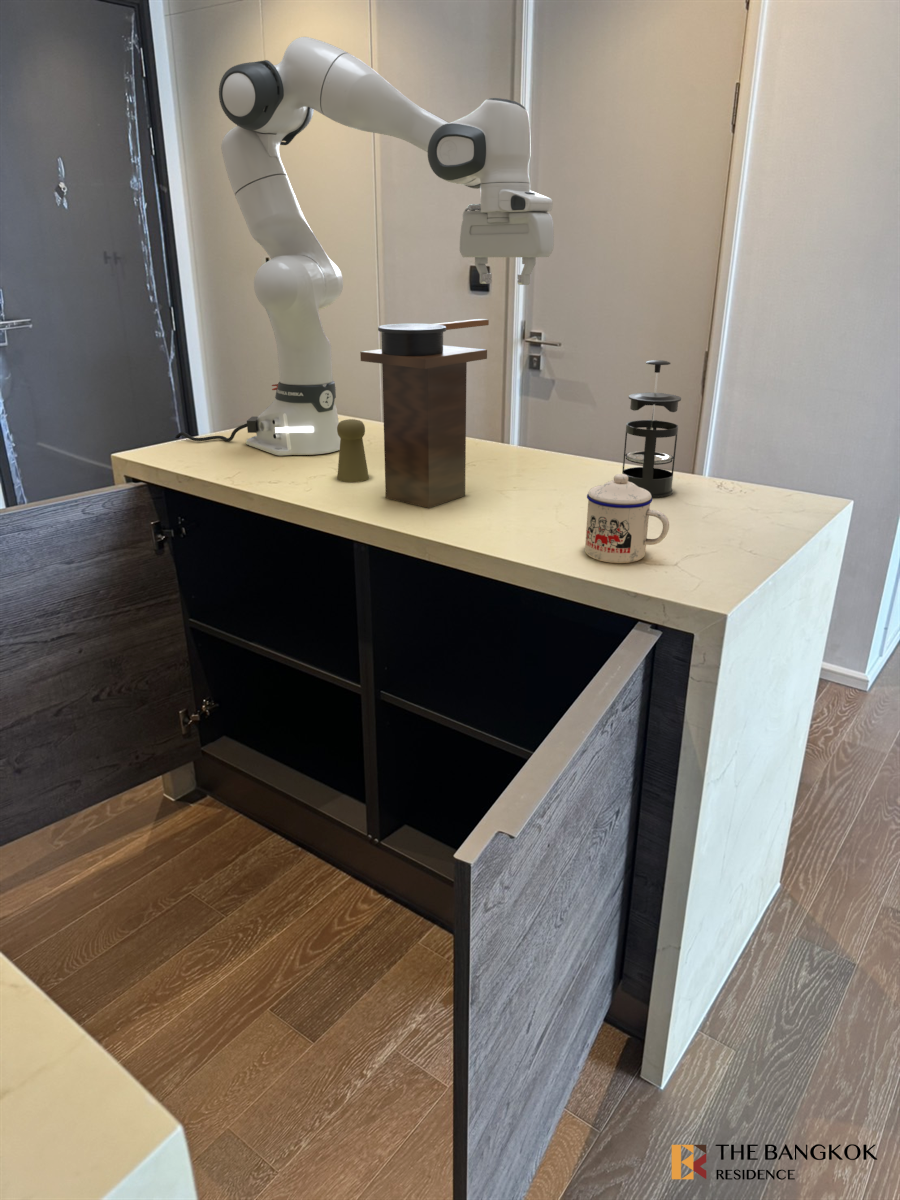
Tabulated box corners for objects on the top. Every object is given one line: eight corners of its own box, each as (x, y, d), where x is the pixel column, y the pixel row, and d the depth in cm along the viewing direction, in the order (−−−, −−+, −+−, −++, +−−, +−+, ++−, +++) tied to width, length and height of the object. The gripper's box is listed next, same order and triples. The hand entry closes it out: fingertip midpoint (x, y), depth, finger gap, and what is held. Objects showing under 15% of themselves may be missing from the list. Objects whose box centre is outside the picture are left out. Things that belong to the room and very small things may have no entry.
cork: (367, 482, 161) (365, 423, 157) (335, 482, 161) (332, 423, 157) (370, 474, 167) (368, 417, 163) (339, 474, 167) (336, 417, 163)
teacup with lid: (573, 557, 124) (578, 477, 119) (597, 539, 131) (602, 464, 126) (654, 572, 118) (662, 490, 113) (674, 553, 125) (683, 475, 121)
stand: (365, 499, 151) (360, 351, 141) (424, 481, 162) (423, 343, 152) (426, 514, 142) (425, 358, 133) (484, 494, 154) (487, 349, 144)
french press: (673, 500, 151) (687, 365, 142) (618, 497, 152) (629, 363, 144) (671, 483, 161) (685, 356, 152) (620, 480, 163) (631, 355, 154)
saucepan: (364, 352, 140) (363, 326, 138) (460, 340, 158) (460, 317, 156) (415, 358, 133) (415, 331, 132) (509, 344, 151) (510, 320, 150)
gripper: (451, 204, 159) (452, 283, 164) (537, 199, 146) (535, 286, 151) (475, 204, 163) (475, 282, 169) (560, 200, 150) (557, 284, 155)
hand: (504, 284), depth 160 cm, fingers open, 8 cm apart
